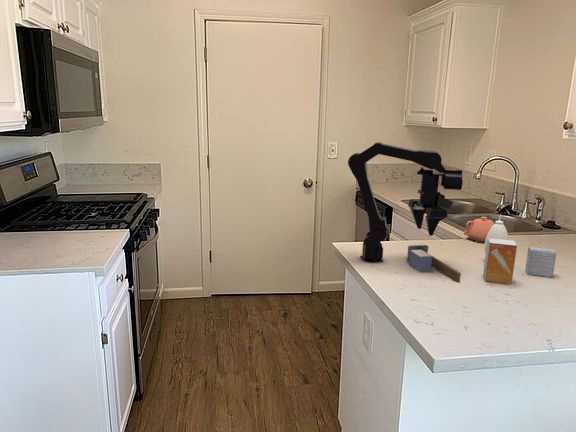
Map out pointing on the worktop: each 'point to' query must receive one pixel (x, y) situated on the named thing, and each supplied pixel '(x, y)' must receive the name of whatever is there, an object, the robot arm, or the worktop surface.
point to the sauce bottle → (497, 232)
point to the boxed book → (420, 260)
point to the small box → (499, 260)
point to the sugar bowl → (478, 229)
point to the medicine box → (540, 262)
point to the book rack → (437, 263)
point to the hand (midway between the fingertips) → (424, 232)
